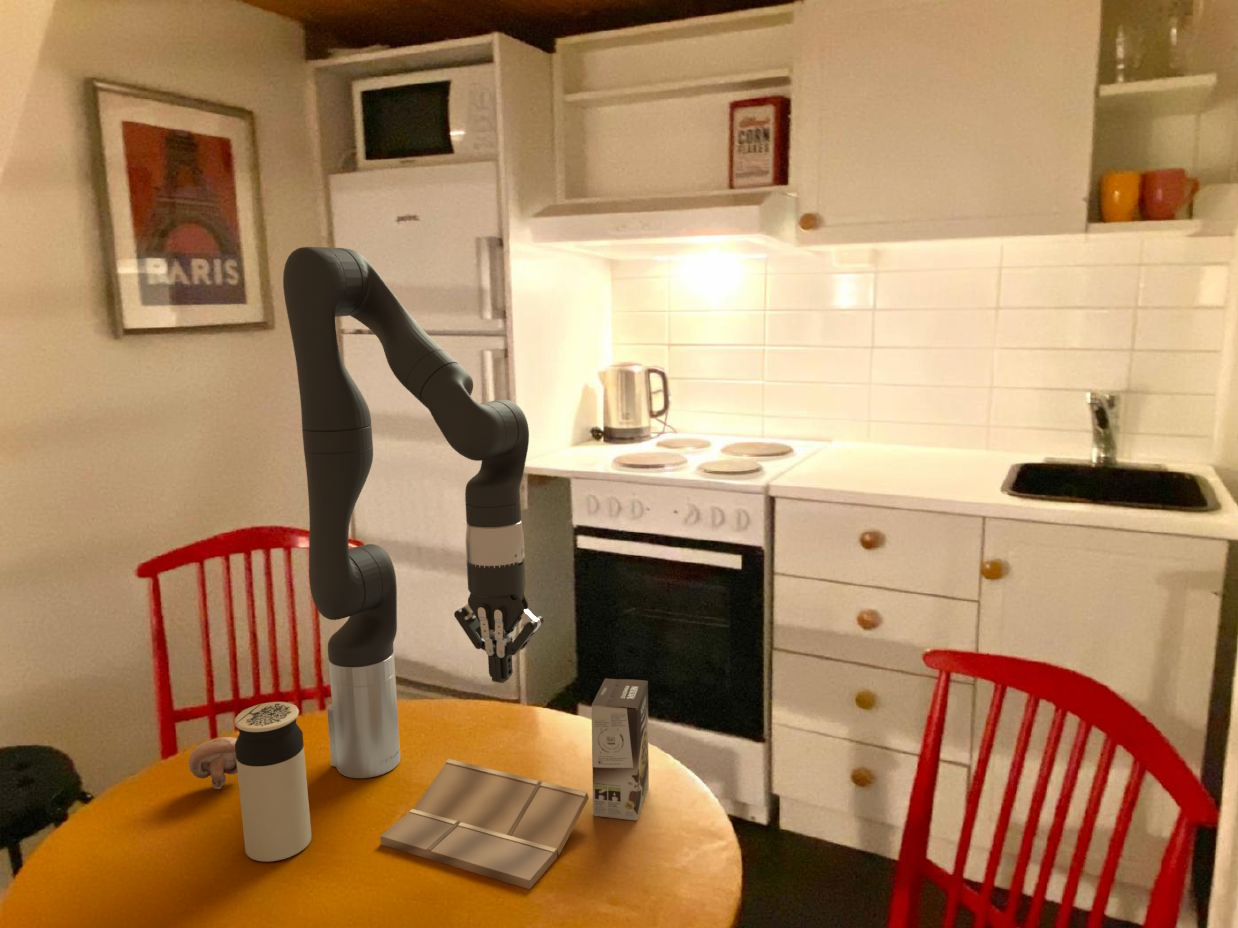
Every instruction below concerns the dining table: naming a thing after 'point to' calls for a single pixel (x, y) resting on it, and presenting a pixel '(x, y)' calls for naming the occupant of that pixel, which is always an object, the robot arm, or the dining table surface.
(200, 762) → the mushroom
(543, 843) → the board
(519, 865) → the laid plank
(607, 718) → the coffee box
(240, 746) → the travel mug
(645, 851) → the dining table surface
